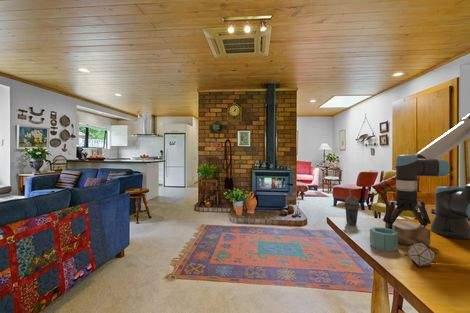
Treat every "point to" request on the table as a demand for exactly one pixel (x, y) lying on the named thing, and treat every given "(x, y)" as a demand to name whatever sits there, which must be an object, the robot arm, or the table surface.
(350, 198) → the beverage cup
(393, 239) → the bowl
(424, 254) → the game die
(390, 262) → the table surface
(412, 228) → the brown wooden block
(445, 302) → the table surface
